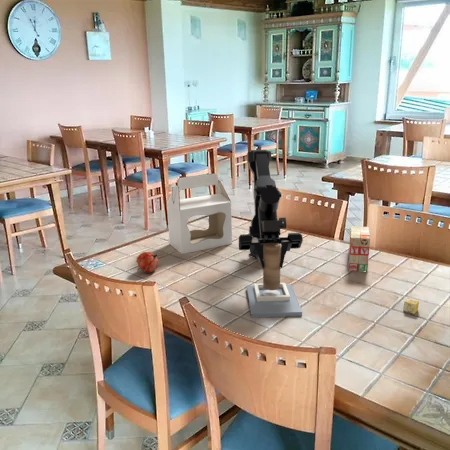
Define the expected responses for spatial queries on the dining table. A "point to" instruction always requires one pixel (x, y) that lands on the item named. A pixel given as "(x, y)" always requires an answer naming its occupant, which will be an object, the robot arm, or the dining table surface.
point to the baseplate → (273, 301)
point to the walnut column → (271, 266)
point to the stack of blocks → (359, 248)
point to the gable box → (204, 205)
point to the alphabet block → (411, 306)
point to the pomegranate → (147, 262)
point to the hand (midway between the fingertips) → (272, 267)
